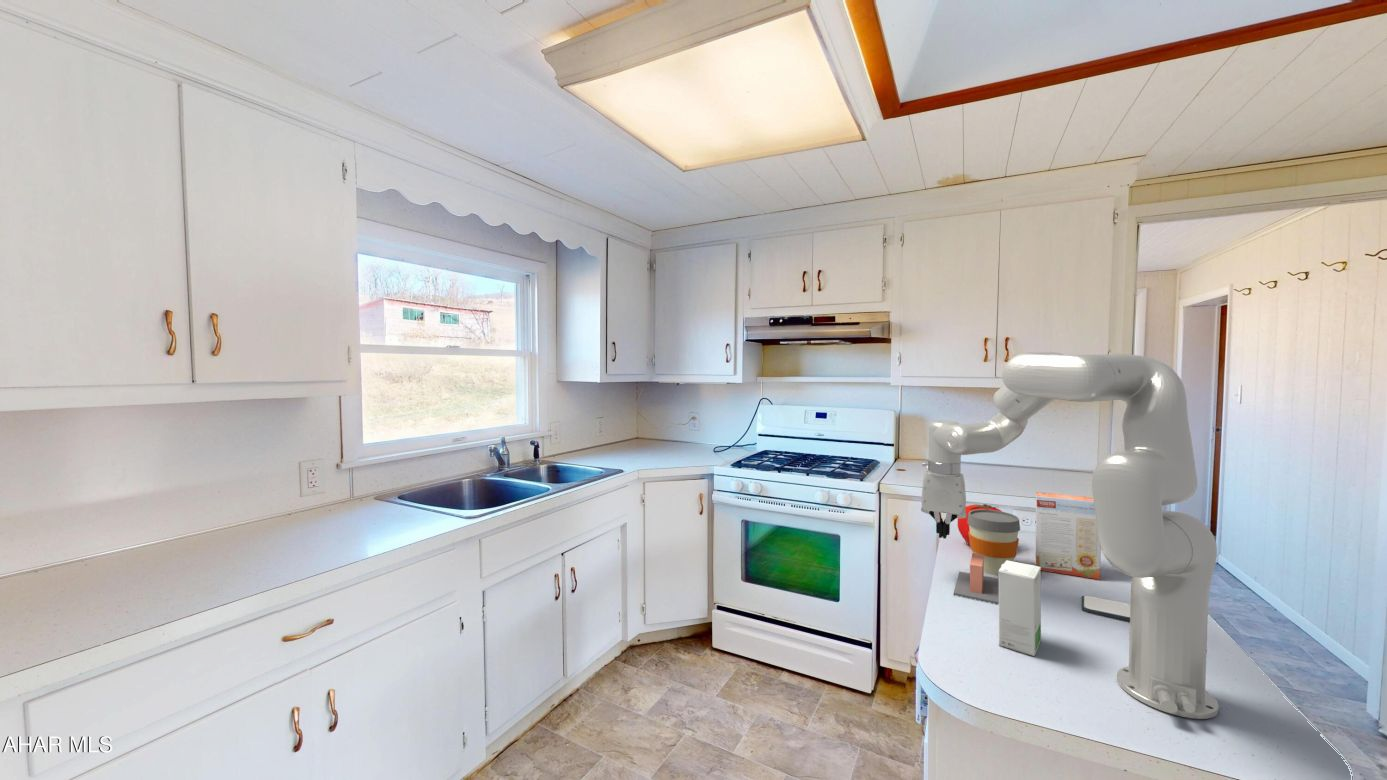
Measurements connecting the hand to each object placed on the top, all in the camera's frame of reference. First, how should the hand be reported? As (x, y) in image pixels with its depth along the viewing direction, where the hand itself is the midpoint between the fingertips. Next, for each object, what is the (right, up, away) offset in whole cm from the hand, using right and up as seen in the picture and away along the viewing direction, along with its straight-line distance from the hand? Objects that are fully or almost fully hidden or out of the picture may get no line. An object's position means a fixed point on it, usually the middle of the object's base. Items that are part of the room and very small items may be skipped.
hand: (942, 536), depth 130 cm
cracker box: (+36, -11, +5) cm, 39 cm away
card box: (+7, -11, -4) cm, 14 cm away
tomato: (+25, -11, +25) cm, 36 cm away
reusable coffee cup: (+18, -12, +8) cm, 23 cm away
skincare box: (+1, -13, -29) cm, 32 cm away
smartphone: (+32, -13, -18) cm, 39 cm away
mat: (+9, -12, -6) cm, 16 cm away
